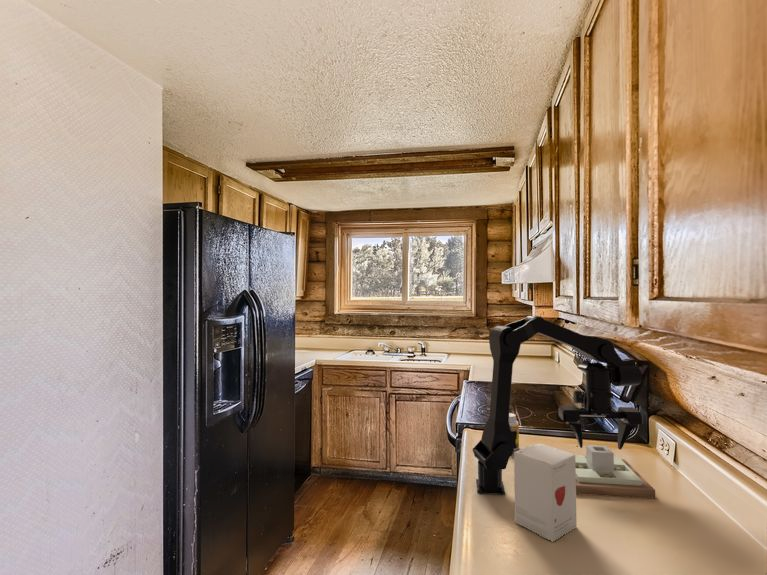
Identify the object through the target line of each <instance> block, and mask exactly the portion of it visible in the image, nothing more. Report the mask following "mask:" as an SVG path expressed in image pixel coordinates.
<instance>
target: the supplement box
mask: <svg viewBox="0 0 767 575" xmlns="http://www.w3.org/2000/svg"><path fill="white" fill-rule="evenodd" d="M575 455H576V453H571V452H569V451H566V450H563V449H559V448H555V447H553V446H550V445H547V444H543V443H539V442H537V443H535V444H532V445H529V446H526V447H524V448H521V449H519V450H518V449H517V450H515V451H513V458H514V466H513V468H514V470H513V471H514V476H513V477H514V478H513V479H514V523H515V522H516V523H515V524H517V523H518V524H517V525H519V524H520V525H519V526H521V525H522V526H524V527H526V528H528V529H530V530H532V531H533V532H532V531H531V532H532V533H534V532H535V533H534V534H536V533H537V534H536V535H538V534H539V535H538V536H540V537H542V538H544V539H546V540H547V539H548V540H547V541H549V540H551V541H554V542H556V541H557V540H559V539H561V538H562V537H564V536H565V535H567V534H569V533H570V532H571V531H573V530H575V529H576V528H577V525H578V524H577V522H578V521H577V494H576V469H575ZM522 526H521V527H522ZM524 527H523V528H524ZM526 528H525V529H526ZM574 528H575V529H574ZM528 529H527V530H528ZM572 529H573V530H572ZM530 530H529V531H530ZM570 530H571V531H570ZM569 531H570V532H569ZM566 533H567V534H566ZM564 534H565V535H564ZM563 535H564V536H563ZM561 536H562V537H561ZM560 537H561V538H560ZM558 538H559V539H558ZM556 539H557V540H556ZM555 540H556V541H555ZM551 541H550V542H551Z"/></svg>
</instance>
